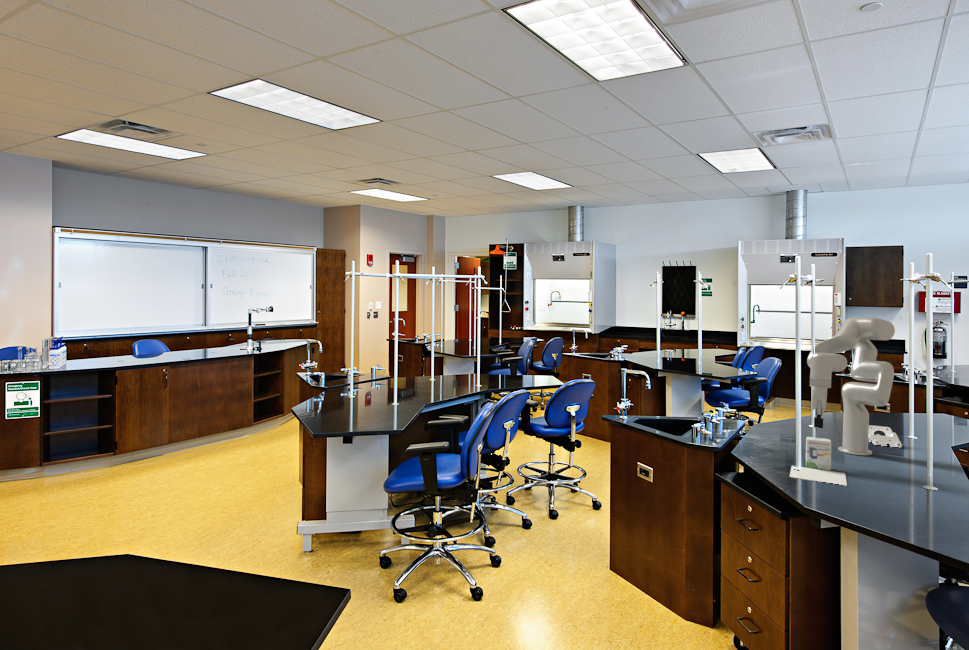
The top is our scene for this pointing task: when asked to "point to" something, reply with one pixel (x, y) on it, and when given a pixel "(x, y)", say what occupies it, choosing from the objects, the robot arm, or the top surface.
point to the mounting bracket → (884, 437)
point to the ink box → (818, 453)
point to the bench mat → (819, 475)
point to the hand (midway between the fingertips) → (818, 427)
